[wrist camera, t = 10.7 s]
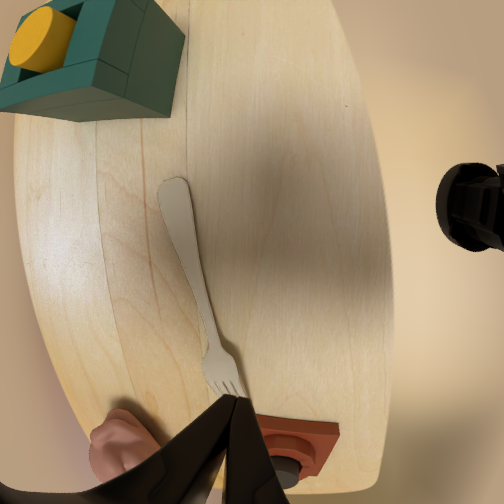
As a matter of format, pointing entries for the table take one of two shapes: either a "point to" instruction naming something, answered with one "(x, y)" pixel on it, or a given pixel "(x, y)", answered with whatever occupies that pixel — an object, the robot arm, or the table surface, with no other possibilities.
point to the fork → (196, 281)
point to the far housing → (300, 441)
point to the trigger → (42, 41)
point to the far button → (286, 470)
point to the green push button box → (103, 65)
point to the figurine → (119, 445)
